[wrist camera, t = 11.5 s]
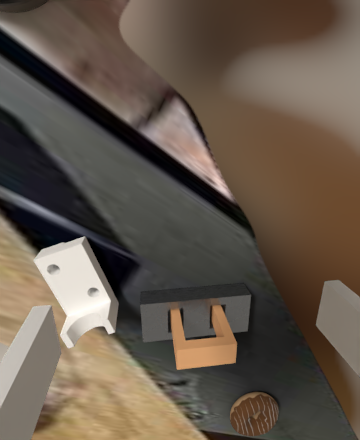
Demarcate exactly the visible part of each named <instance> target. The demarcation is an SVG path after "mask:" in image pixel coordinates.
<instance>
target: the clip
mask: <svg viewBox="0 0 360 440" xmlns="http://www.w3.org/2000/svg"><path fill="white" fill-rule="evenodd" d="M210 318H211V321H212V324H213V327H214V330H215V333H216V336H217V337H216V338H207V339H197V340H188V341H185V336H184V331H183V326H182V321H181V315H180V310H179V309H170V321H171V329H172V336H173V343H174V351H175V358H176V365H177V370H179V369H187V368H196V367H204V366H213V365H221V364H229V363H236V351H237V342H236V340H235V338H234V335H233V333H232V330H231V328H230V326H229V323H228V321H227V318H226V316H225V314H224V311H223V309H222V307H221V305H213V306H210Z"/></svg>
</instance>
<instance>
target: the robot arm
mask: <svg viewBox="0 0 360 440" xmlns="http://www.w3.org/2000/svg"><path fill="white" fill-rule="evenodd" d="M47 1H48V0H0V11H4V12H23V11H28V10H32V9H34V8H37V7H39V6H41V5H42V4H44V3H46V2H47ZM316 326H317V327H318V329H319V330H320V331H321V332H322V333H323V334H324V336H325V337H326V338H327V339H328V340H329V342H330V343H331V344H332V345H333V346H334V348H335V349H336V350H337V351H338V352H339V354H340V355H341V356H342V357H343V358H344V359H345V361H346V362H347V363H348V364H349V365H350V367H351V368H352V369H353V370H354V371H355V373H356V374H357V375H358V376H359V377H360V297H359V296H358V295H356V294H355V293H354V292H353V291H352V290H350V289H349V288H348V287H347V286H345V285H344V284H343V283H342V282H341V281H339V280H333V281H325V282H324V287H323V292H322V297H321V302H320V307H319V312H318V317H317V321H316ZM60 355H61V348H60V344H59V339H58V334H57V330H56V325H55V320H54V315H53V311H52V306H51V305H46V306H34V307H33V308H32V309H31V311H30V313H29V315H28V316H27V318H26V320H25V321H24V323H23V325H22V327H21V328H20V330H19V332H18V333H17V335H16V337H15V338H14V340H13V342H12V344H11V345H10V347H9V349H8V350H7V352H6V354H5V356H4V357H3V359H2V361H1V362H0V440H31V438H32V435H33V432H34V429H35V426H36V423H37V421H38V418H39V415H40V412H41V409H42V406H43V403H44V401H45V398H46V395H47V392H48V389H49V386H50V383H51V381H52V378H53V375H54V372H55V369H56V366H57V363H58V361H59V358H60Z"/></svg>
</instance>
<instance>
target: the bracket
mask: <svg viewBox="0 0 360 440" xmlns="http://www.w3.org/2000/svg"><path fill="white" fill-rule="evenodd" d="M34 262H35V264H36V265H37V267H38V269H39V270H40V272H41V274H42V275H43V277H44V279H45V280H46V282H47V283H48V285H49V287H50V288H51V290H52V292H53V293H54V295H55V297H56V298H57V300H58V302H59V303H60V305H61V307H62V308H63V310H64V311H65V313H66V315H67V318H66V321H65V323H64V326H63V328H62V331H61V334H60V336H61V338H62V340H63V341H64V343H65V344H66V346H67V347H68V348H71V347H74V346H75V344H76V342H77V340H78V339H79V338H80V337H81V336H82V335H83V334H84V333H85V332H87V331H88V330H90V329H92V328H94V327H98V326H104V327H105V328H106V330H107V332H108V334H111V333H114V332H115V328H116V320H117V313H118V305H119V303H118V301H117V299H116V297H115V295H114V293H113V291H112V289H111V287H110V285H109V283H108V281H107V279H106V277H105V275H104V273H103V271H102V269H101V267H100V265H99V263H98V261H97V259H96V257H95V255H94V253H93V251H92V249H91V247H90V245H89V243H88V241H87V239H86V237H85V236H84V237H81V238H78V239H76V240H73V241H70V242H67V243H64V242H63V243H60V244H57V245H54V246H51V247H48V248H45V249H43V250H41V251H40V252H39V254H38V255H37V256H36V258H35V259H34Z"/></svg>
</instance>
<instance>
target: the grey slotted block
mask: <svg viewBox="0 0 360 440" xmlns="http://www.w3.org/2000/svg"><path fill="white" fill-rule="evenodd" d="M250 301H251V294H250V292H249V291H248V289H247V287H246V286H245V284H244V283H237V284H225V285H214V286H202V287H190V288H178V289H166V290H154V291H143V292H141V294H140V307H141V320H142V333H143V342H151V341H160V340H170V339H173V336H172V329H171V321H170V309H179V310H180V315H181V321H182V326H183V331H184V336H185V338H189V337H198V336H207V335H216V333H215V330H214V327H213V324H212V321H211V318H210V306H213V305H221V307H222V309H223V311H224V314H225V316H226V318H227V321H228V323H229V326H230V328H231V330H232V333H236V332H245V331H248V322H249V311H250Z"/></svg>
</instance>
